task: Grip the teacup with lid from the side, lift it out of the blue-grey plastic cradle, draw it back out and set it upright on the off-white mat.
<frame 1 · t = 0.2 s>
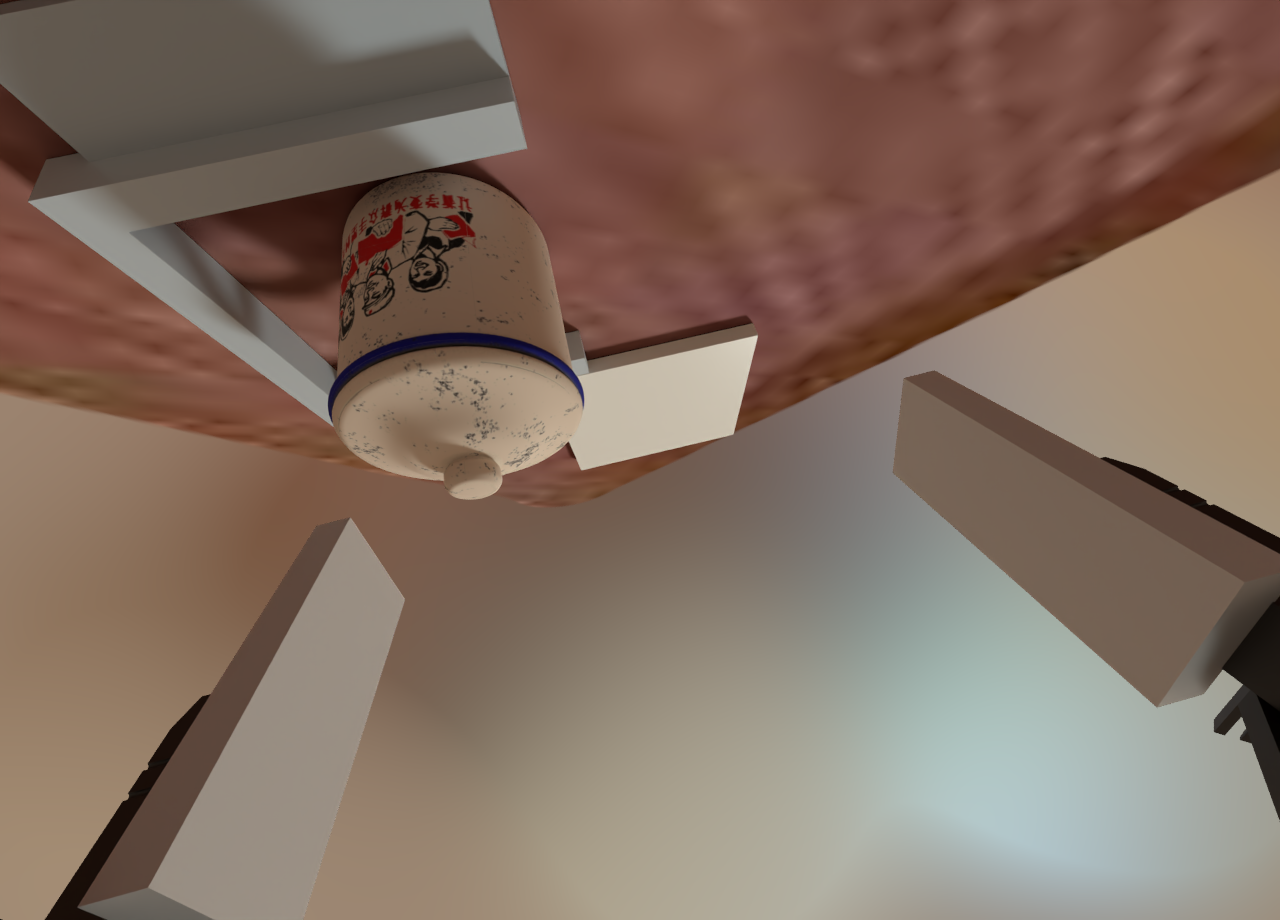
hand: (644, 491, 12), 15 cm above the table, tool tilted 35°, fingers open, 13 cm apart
teacup with lid: (430, 271, 23), on the table
mat: (652, 402, 38), on the table
cradle: (430, 275, 23), on the table
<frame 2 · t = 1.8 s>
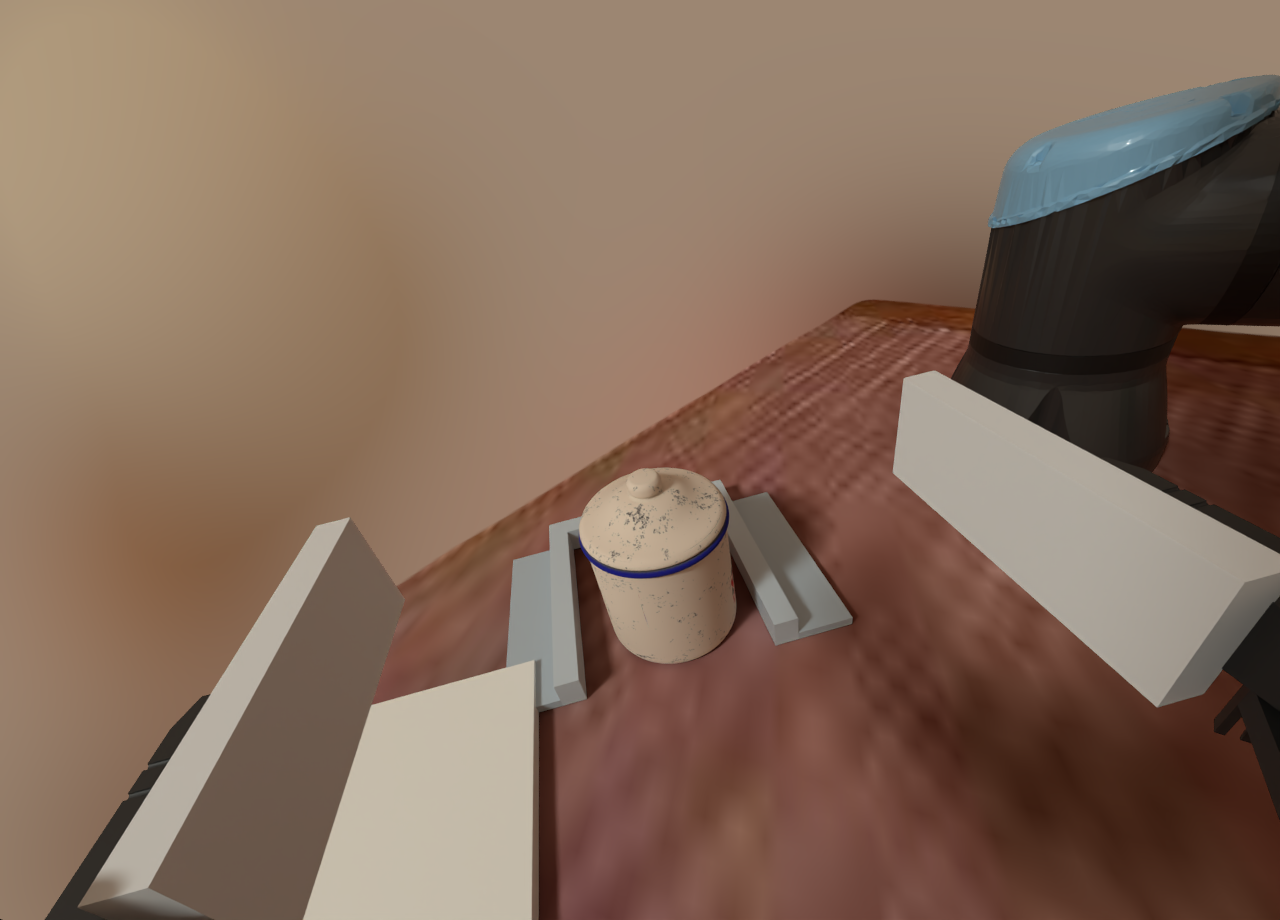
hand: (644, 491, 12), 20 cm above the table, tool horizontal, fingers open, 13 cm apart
teacup with lid: (662, 600, 35), on the table
mat: (410, 820, 26), on the table
cradle: (661, 598, 35), on the table
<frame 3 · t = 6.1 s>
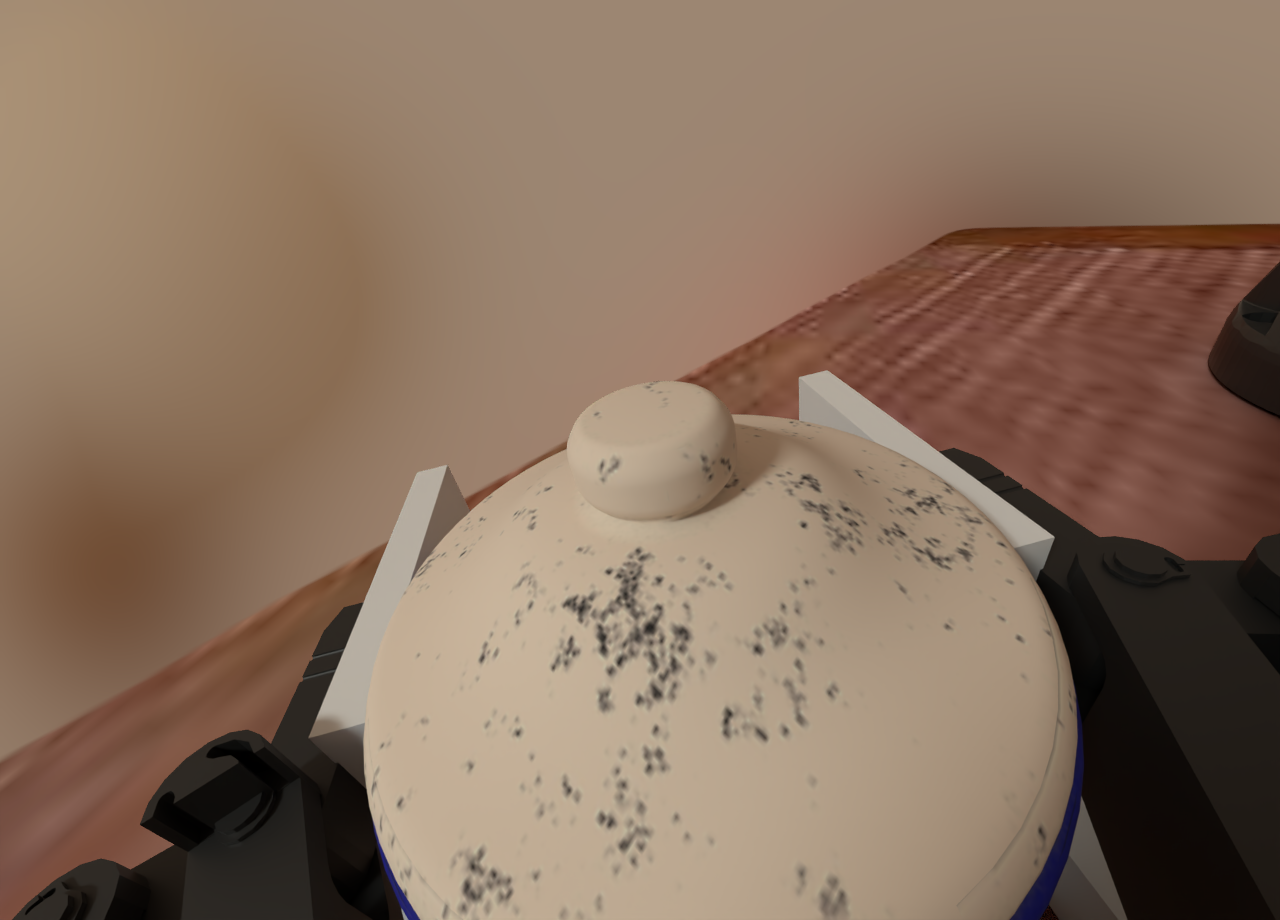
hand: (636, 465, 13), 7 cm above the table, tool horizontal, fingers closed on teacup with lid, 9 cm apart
teacup with lid: (693, 785, 13), on the table, touching gripper
cradle: (708, 782, 13), on the table
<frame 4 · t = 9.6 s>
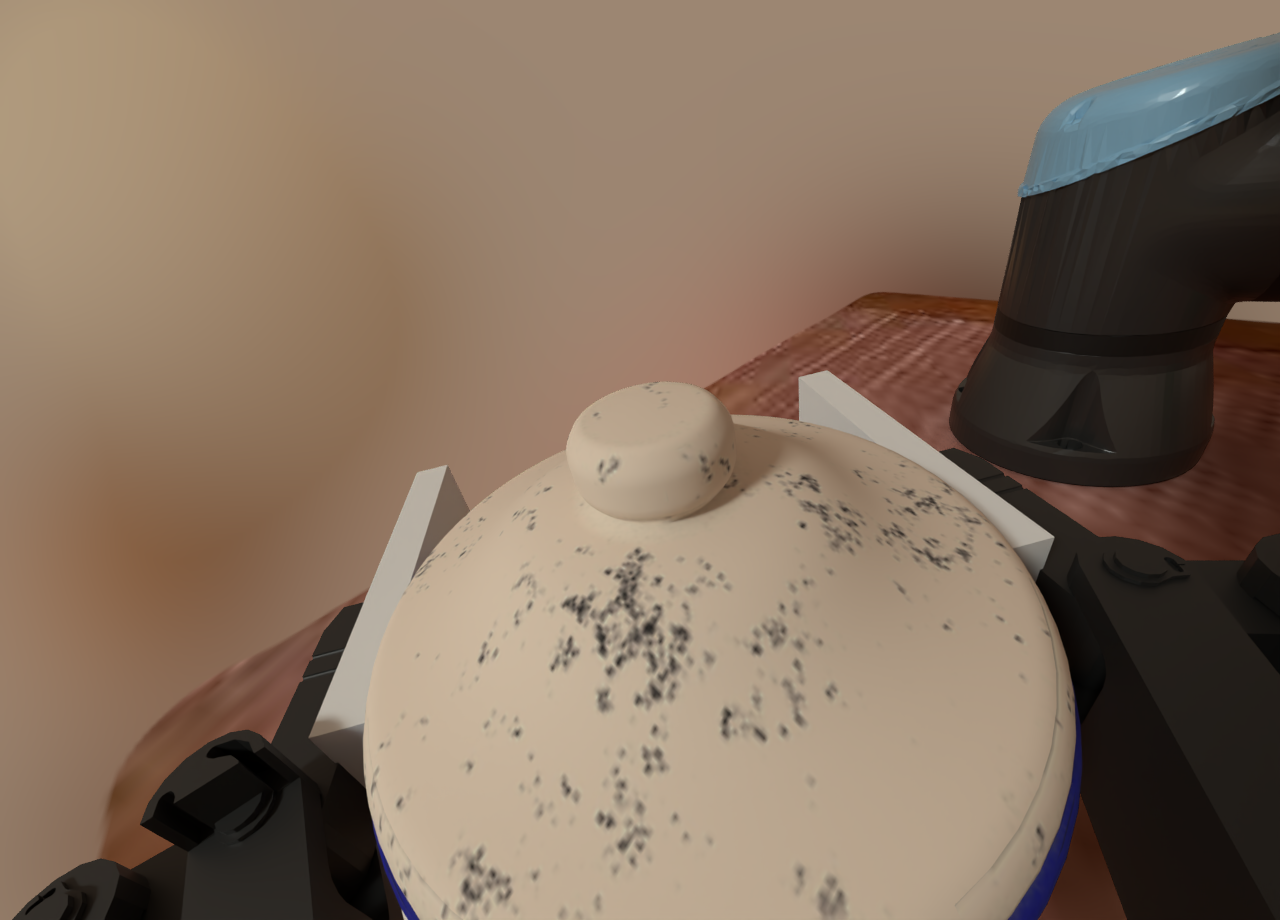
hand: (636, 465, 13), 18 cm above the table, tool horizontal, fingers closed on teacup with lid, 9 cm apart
teacup with lid: (692, 785, 13), point 11 cm above the table, touching gripper
when the fingers open (9 cm above the table, at t = 13.2 s): teacup with lid drops 1 cm, resting on mat.
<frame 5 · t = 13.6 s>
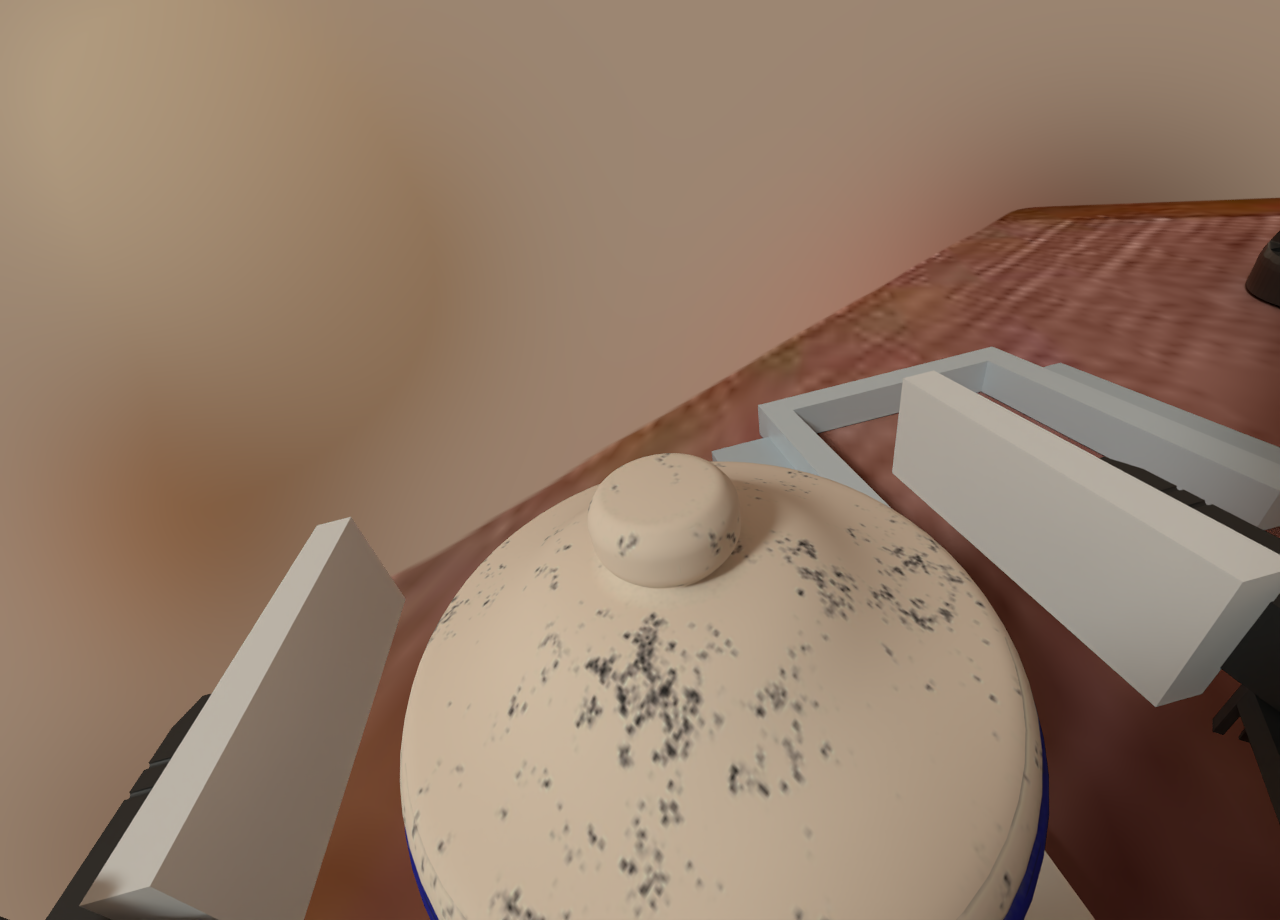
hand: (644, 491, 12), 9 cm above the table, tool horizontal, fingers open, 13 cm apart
teacup with lid: (695, 809, 14), point 1 cm above the table, touching mat
mat: (722, 814, 14), on the table
cradle: (982, 484, 23), on the table
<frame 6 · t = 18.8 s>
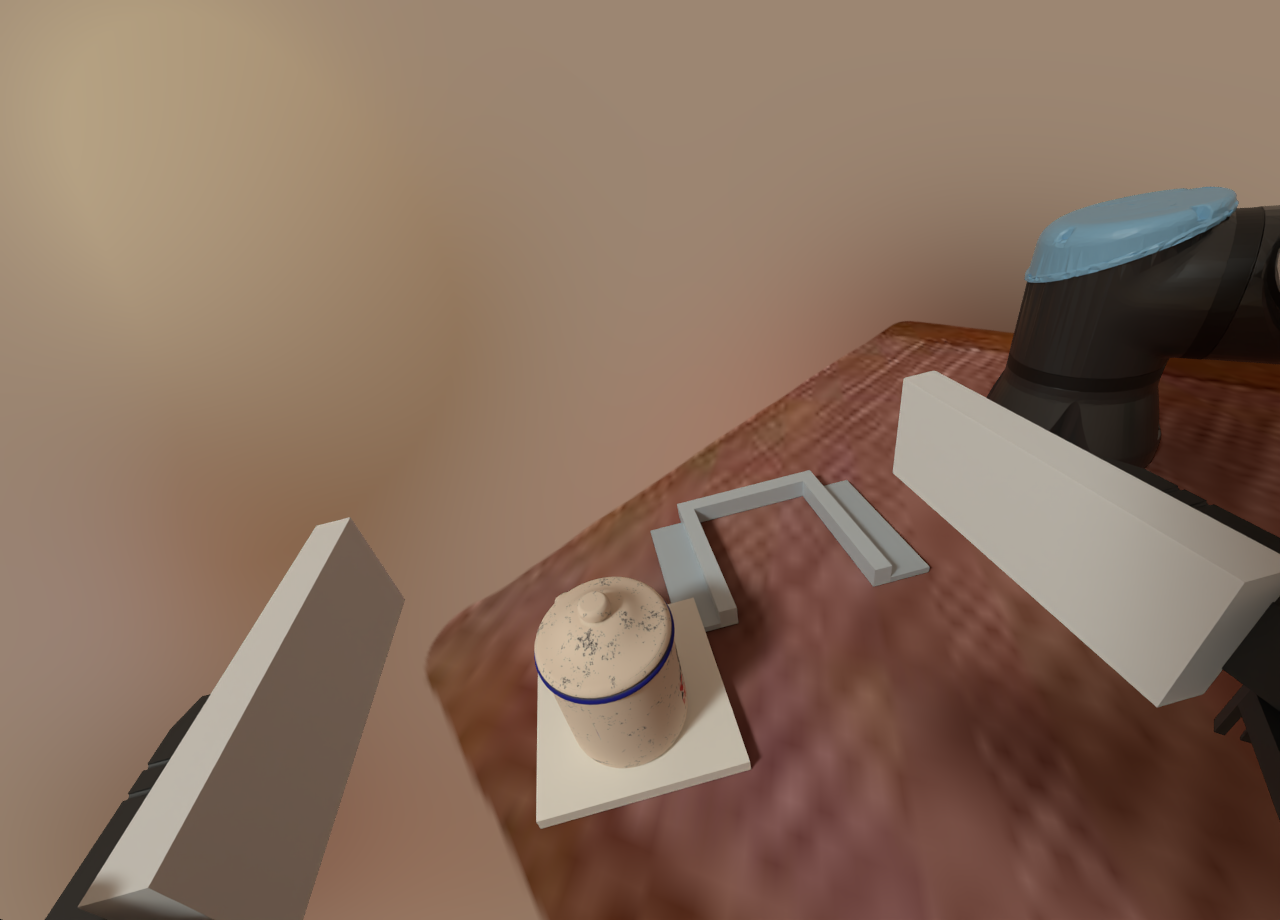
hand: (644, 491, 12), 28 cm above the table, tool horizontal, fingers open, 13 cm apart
teacup with lid: (619, 695, 37), point 1 cm above the table, touching mat
mat: (630, 698, 37), on the table
cradle: (777, 556, 46), on the table
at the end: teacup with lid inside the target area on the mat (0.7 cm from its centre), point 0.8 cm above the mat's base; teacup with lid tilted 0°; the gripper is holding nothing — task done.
